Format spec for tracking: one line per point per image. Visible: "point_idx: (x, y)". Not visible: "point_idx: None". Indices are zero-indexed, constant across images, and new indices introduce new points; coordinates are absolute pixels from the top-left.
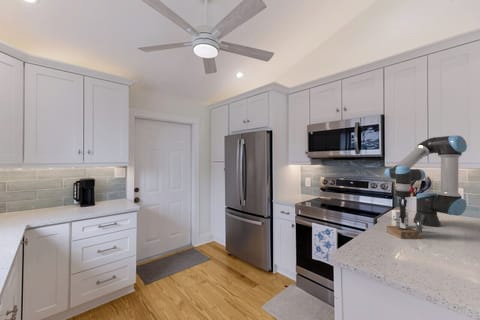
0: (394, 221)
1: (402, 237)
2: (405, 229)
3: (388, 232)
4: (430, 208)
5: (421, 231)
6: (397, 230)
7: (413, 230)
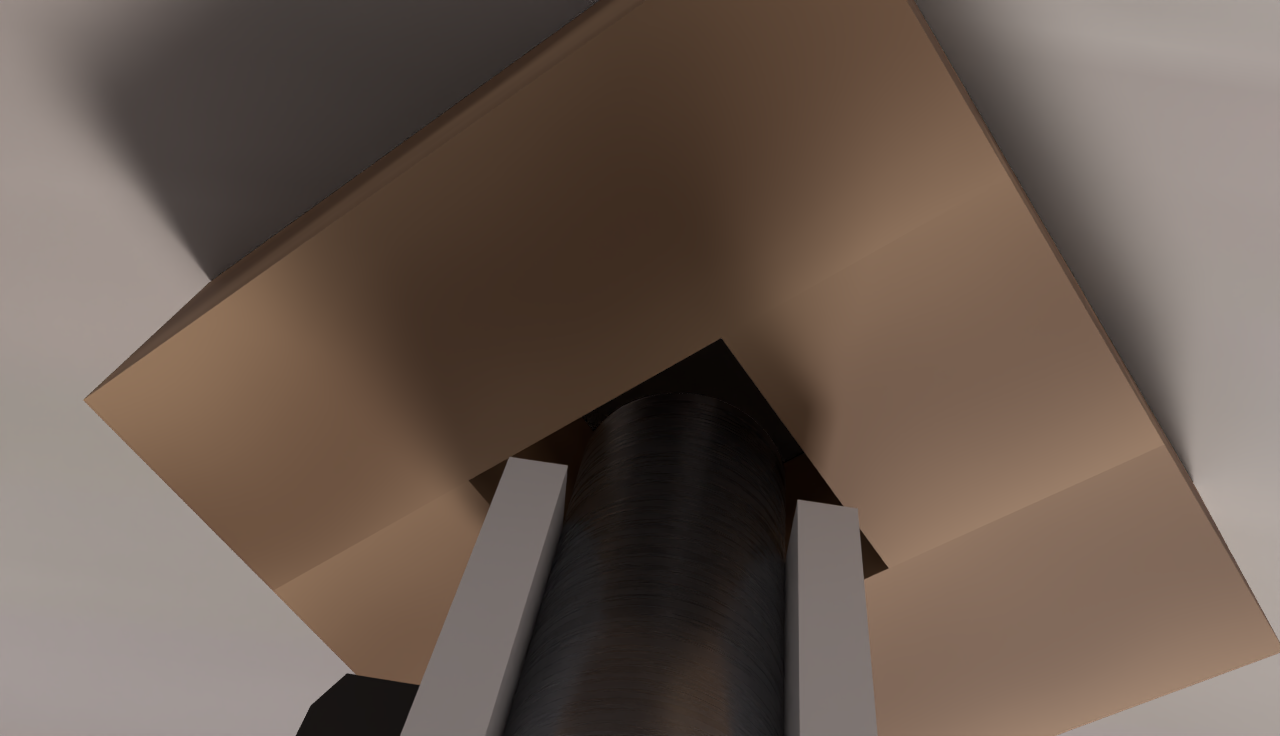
0: None
1: (1186, 472)
2: (736, 450)
3: None
4: None
5: None
6: (1080, 720)
7: (709, 162)
